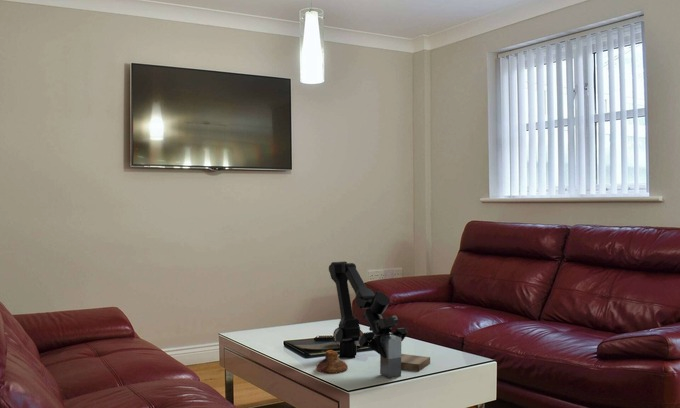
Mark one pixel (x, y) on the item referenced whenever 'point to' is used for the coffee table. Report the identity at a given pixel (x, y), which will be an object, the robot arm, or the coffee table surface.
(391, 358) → the block
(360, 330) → the robot arm
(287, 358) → the coffee table surface
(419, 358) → the stand
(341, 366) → the bell
